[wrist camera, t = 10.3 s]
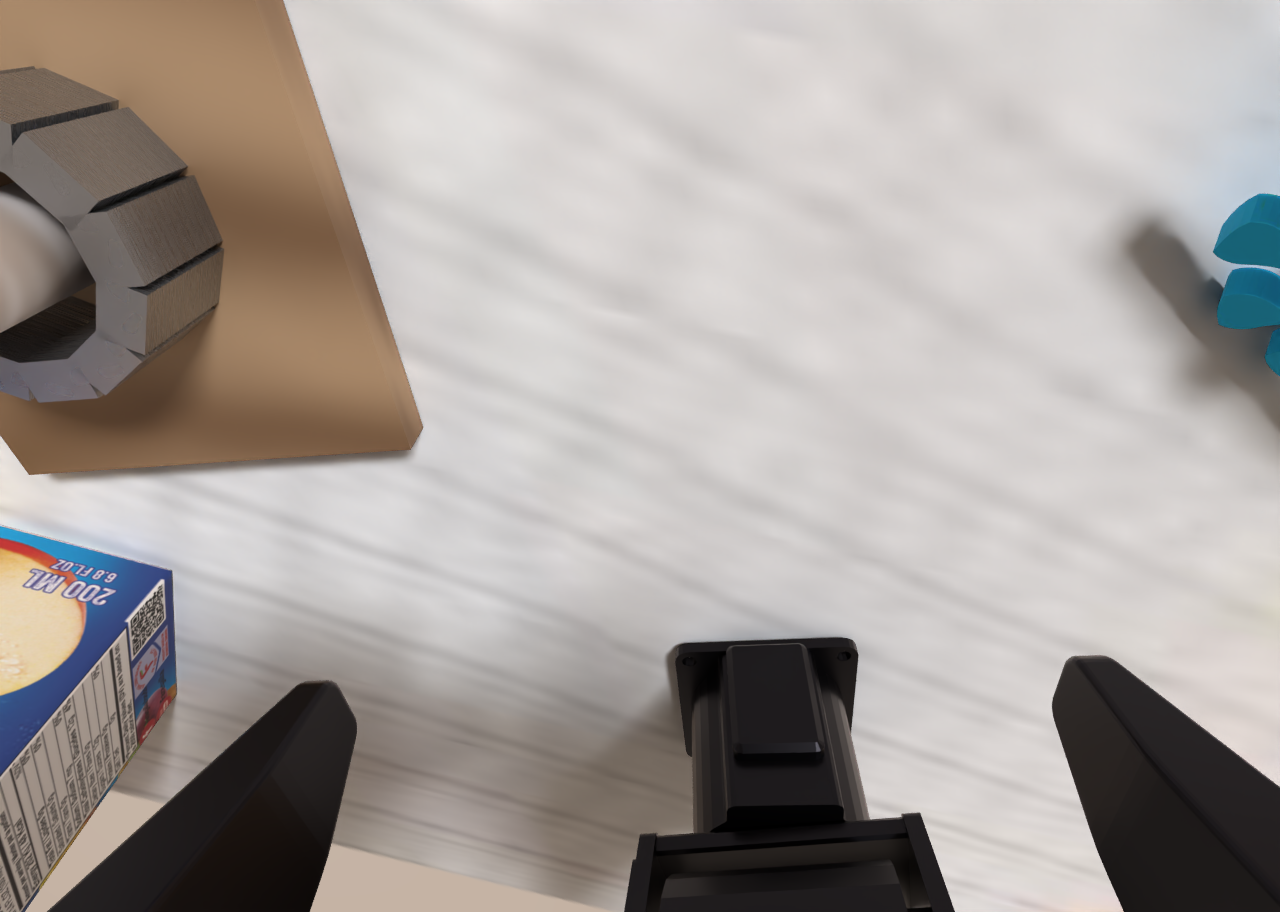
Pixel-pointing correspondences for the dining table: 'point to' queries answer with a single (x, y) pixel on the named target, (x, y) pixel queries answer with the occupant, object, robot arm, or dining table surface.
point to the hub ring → (103, 238)
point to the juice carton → (72, 692)
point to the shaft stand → (252, 240)
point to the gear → (1252, 270)
